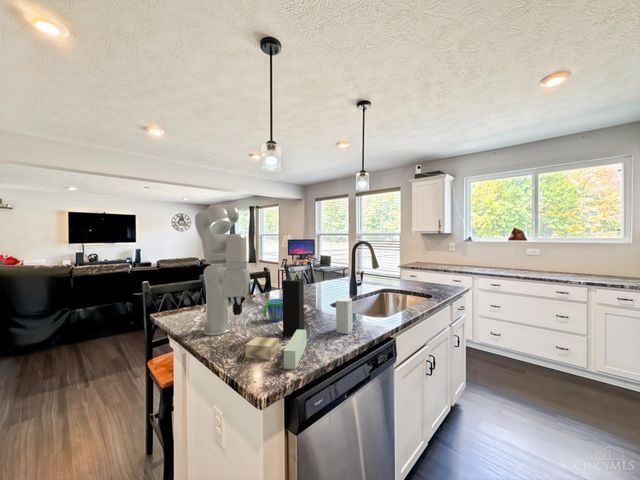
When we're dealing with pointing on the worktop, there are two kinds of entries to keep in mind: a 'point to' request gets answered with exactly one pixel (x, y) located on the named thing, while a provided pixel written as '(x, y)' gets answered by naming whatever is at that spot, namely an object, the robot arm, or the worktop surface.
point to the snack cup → (274, 309)
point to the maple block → (262, 348)
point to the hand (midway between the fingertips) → (237, 314)
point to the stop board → (295, 349)
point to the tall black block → (293, 305)
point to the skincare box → (344, 315)
